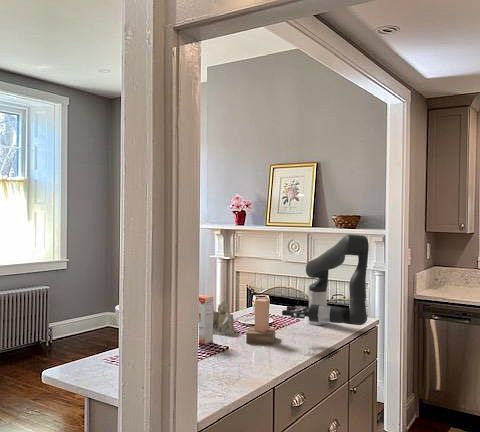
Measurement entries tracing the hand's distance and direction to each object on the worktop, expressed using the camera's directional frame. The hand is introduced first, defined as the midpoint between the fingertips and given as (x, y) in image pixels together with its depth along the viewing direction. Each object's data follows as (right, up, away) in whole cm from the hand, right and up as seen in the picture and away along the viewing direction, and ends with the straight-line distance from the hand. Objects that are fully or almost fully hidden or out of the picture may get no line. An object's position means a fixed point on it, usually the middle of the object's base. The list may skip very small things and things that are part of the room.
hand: (284, 310), depth 223 cm
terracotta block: (-10, -10, +4) cm, 15 cm away
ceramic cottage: (-31, -14, +20) cm, 39 cm away
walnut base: (-10, -15, +4) cm, 18 cm away
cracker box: (-39, -14, +2) cm, 42 cm away
